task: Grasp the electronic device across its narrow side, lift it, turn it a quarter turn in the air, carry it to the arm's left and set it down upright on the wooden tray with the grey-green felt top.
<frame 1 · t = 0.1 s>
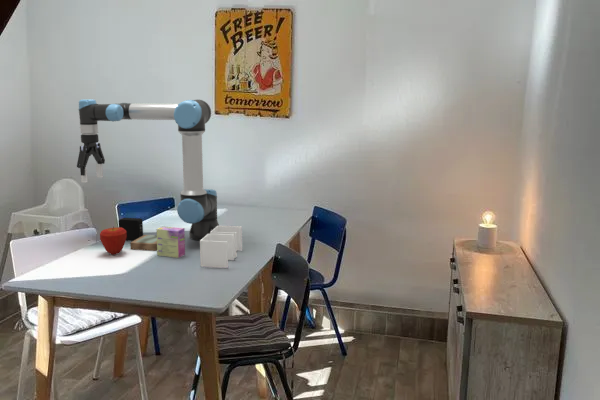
hand: (92, 180, 268), 28 cm above the table, fingers open, 13 cm apart
wooden tray: (150, 245, 262), on the table
apple: (114, 254, 249), on the table
electronic device: (131, 240, 272), on the table
box: (171, 255, 248), on the table
white folding screen: (222, 259, 244), on the table
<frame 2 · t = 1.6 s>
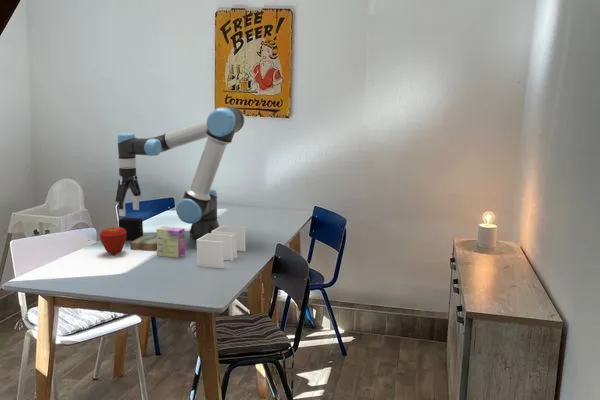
hand: (129, 212, 269), 13 cm above the table, fingers open, 13 cm apart
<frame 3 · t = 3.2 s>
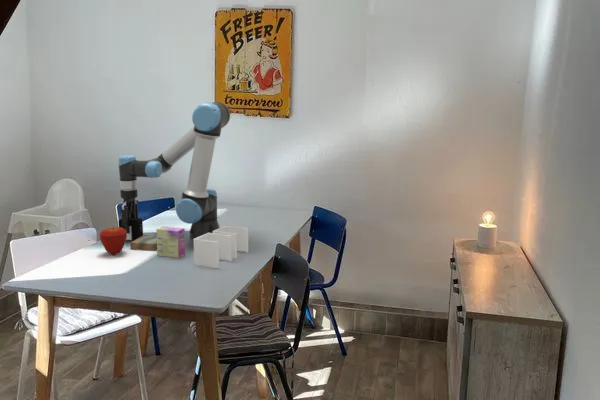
hand: (131, 238, 272), 1 cm above the table, fingers closed on electronic device, 4 cm apart
electronic device: (131, 240, 272), on the table, touching gripper
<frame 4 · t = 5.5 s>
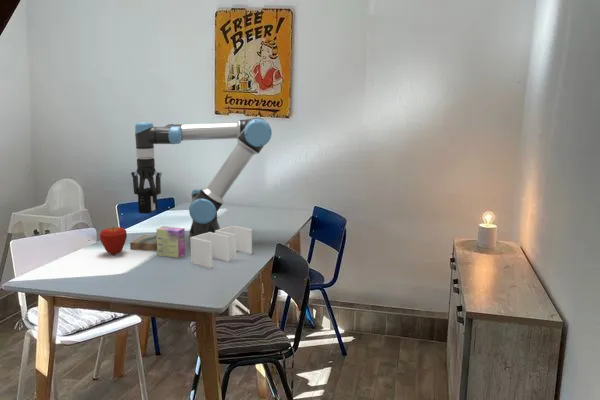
hand: (148, 209, 259), 16 cm above the table, fingers closed on electronic device, 4 cm apart
electronic device: (148, 211, 259), point 16 cm above the table, touching gripper
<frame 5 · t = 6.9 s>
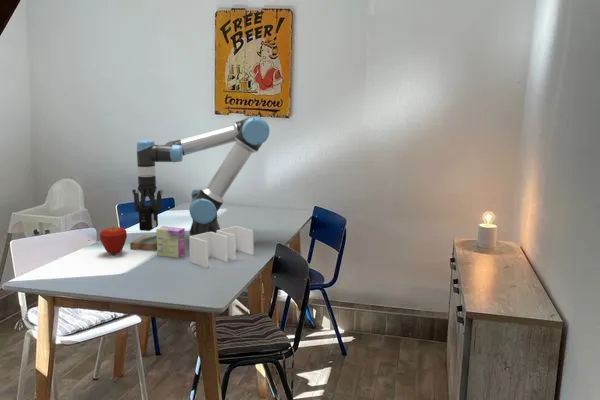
hand: (148, 227, 260), 9 cm above the table, fingers closed on electronic device, 4 cm apart
electronic device: (149, 228, 260), point 8 cm above the table, touching gripper
when the fingers open (5 cm above the table, at t = 7.9 s): electronic device stays where it is, resting on wooden tray.
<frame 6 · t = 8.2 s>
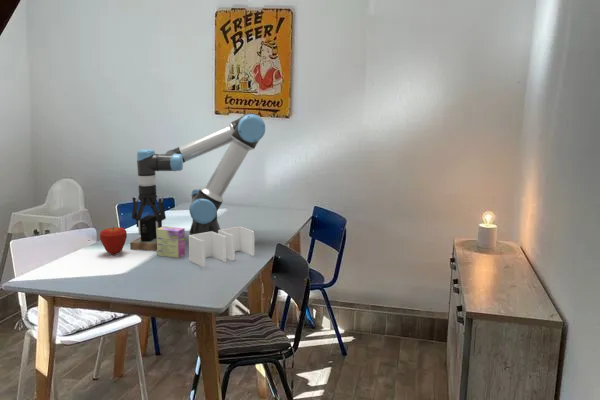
hand: (149, 234, 261), 5 cm above the table, fingers open, 8 cm apart
electronic device: (150, 239, 261), point 3 cm above the table, touching wooden tray
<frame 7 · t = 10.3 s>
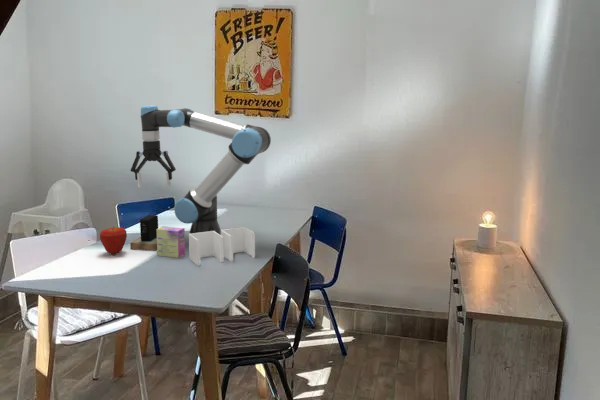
hand: (154, 187, 265), 25 cm above the table, fingers open, 13 cm apart
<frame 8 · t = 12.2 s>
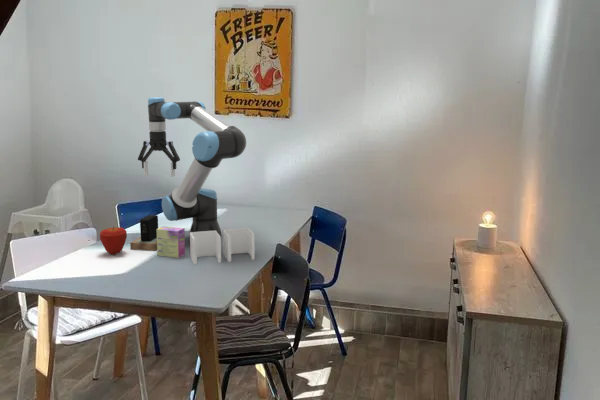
hand: (159, 175, 276), 29 cm above the table, fingers open, 13 cm apart
at the end: electronic device inside the target area on the wooden tray (0.1 cm from its centre), point 3.0 cm above the wooden tray's base; electronic device tilted 0°; the gripper is holding nothing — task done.
